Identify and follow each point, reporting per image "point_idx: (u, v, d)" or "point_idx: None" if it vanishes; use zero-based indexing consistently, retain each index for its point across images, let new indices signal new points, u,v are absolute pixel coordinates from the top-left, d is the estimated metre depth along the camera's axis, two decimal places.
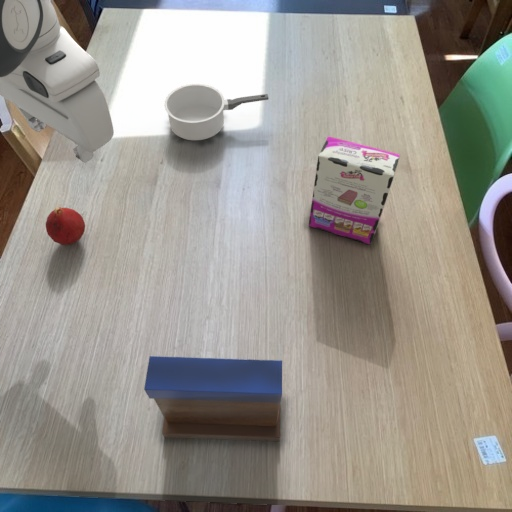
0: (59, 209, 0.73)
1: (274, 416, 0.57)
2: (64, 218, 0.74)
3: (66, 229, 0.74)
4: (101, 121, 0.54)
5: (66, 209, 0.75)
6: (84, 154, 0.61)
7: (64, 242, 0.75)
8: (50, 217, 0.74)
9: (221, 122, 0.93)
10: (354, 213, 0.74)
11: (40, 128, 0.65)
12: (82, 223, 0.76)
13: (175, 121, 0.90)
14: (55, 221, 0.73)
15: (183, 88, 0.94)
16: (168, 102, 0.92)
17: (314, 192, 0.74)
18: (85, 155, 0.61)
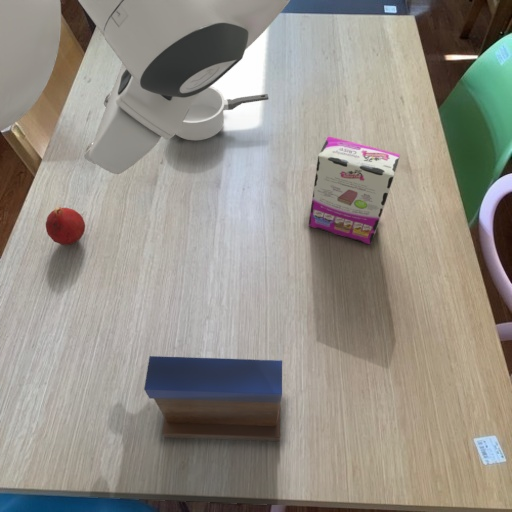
0: (59, 209, 0.73)
1: (274, 416, 0.57)
2: (64, 218, 0.74)
3: (66, 229, 0.74)
4: (122, 156, 0.49)
5: (66, 209, 0.75)
6: None
7: (64, 242, 0.75)
8: (50, 217, 0.74)
9: (221, 122, 0.93)
10: (354, 213, 0.74)
11: None
12: (82, 223, 0.76)
13: None
14: (55, 221, 0.73)
15: None
16: None
17: (314, 192, 0.74)
18: None
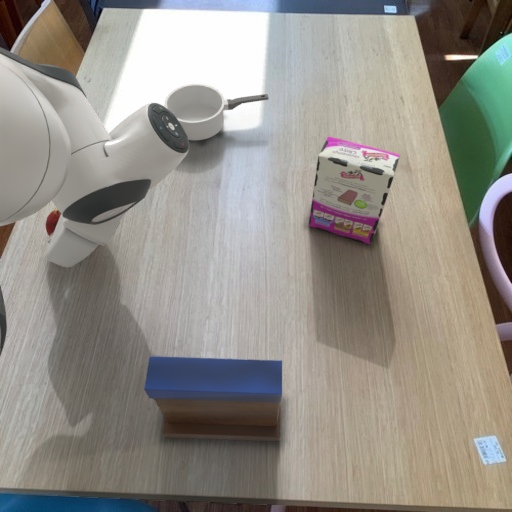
0: (58, 210, 0.73)
1: (274, 416, 0.57)
2: None
3: None
4: (70, 257, 0.66)
5: None
6: None
7: None
8: (50, 217, 0.74)
9: (221, 122, 0.93)
10: (354, 213, 0.74)
11: None
12: None
13: None
14: (54, 221, 0.73)
15: (183, 88, 0.94)
16: (168, 102, 0.92)
17: (314, 192, 0.74)
18: None
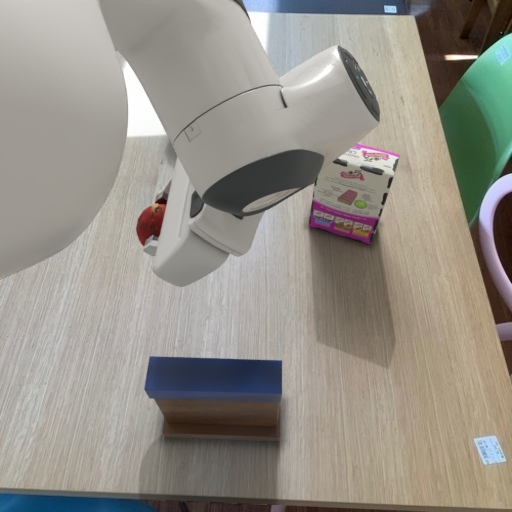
0: (158, 207, 0.54)
1: (274, 416, 0.57)
2: None
3: None
4: (190, 273, 0.47)
5: (164, 206, 0.56)
6: (151, 248, 0.54)
7: None
8: (145, 217, 0.55)
9: None
10: (354, 213, 0.74)
11: None
12: None
13: None
14: (152, 222, 0.54)
15: None
16: None
17: (314, 192, 0.74)
18: (151, 249, 0.54)
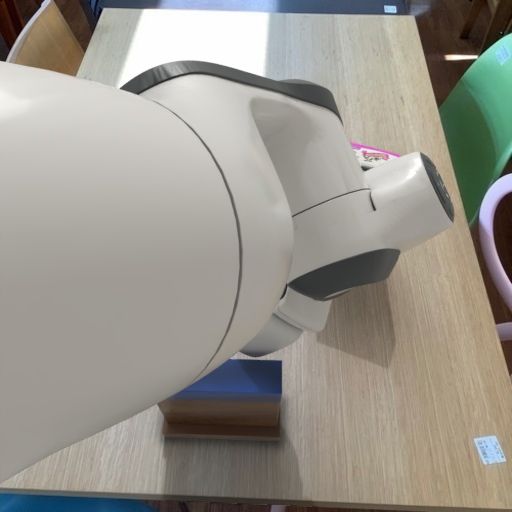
0: None
1: (274, 416, 0.57)
2: None
3: None
4: (266, 347, 0.50)
5: None
6: None
7: None
8: None
9: None
10: None
11: None
12: None
13: None
14: None
15: None
16: None
17: None
18: None
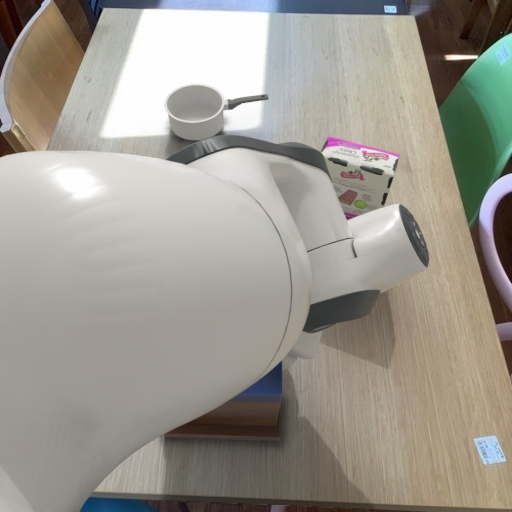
0: None
1: (274, 416, 0.57)
2: None
3: None
4: None
5: None
6: None
7: None
8: None
9: (221, 122, 0.93)
10: (354, 213, 0.74)
11: None
12: None
13: (175, 121, 0.90)
14: None
15: (183, 88, 0.94)
16: (168, 102, 0.92)
17: None
18: None
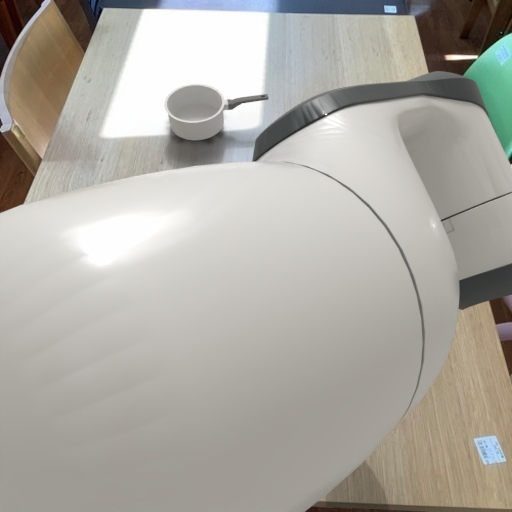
0: None
1: None
2: None
3: None
4: None
5: None
6: None
7: None
8: None
9: (221, 122, 0.93)
10: None
11: None
12: None
13: (175, 121, 0.90)
14: None
15: (183, 88, 0.94)
16: (168, 102, 0.92)
17: None
18: None
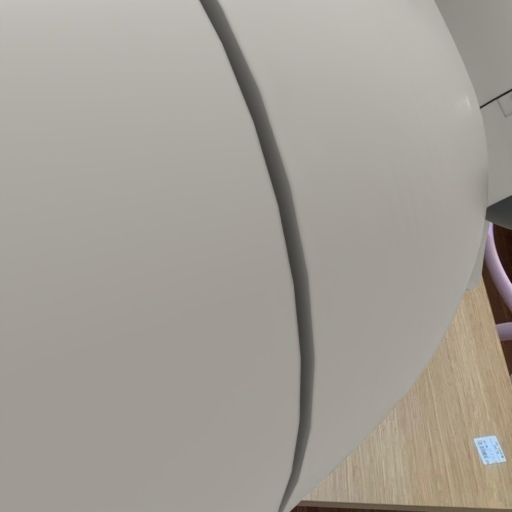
0: None
1: None
2: None
3: None
4: None
5: None
6: None
7: None
8: None
9: None
10: None
11: None
12: None
13: None
14: None
15: None
16: None
17: None
18: None
